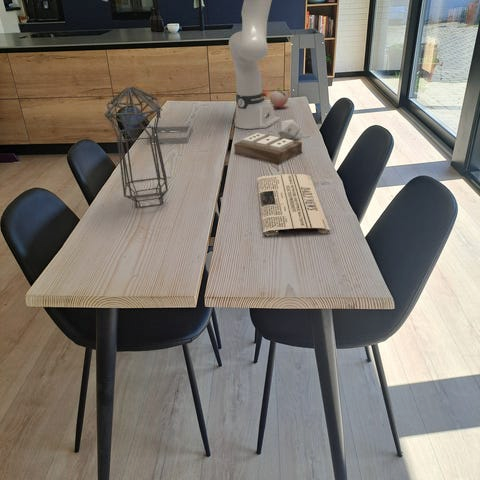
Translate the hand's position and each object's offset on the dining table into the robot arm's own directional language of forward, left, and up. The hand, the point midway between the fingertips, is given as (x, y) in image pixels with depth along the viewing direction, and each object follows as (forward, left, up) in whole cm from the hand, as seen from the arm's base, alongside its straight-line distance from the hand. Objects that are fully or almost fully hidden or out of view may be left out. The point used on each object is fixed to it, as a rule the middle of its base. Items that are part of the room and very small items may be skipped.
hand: (103, 0), depth 166 cm
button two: (-23, +63, -52) cm, 85 cm away
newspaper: (+9, +90, -55) cm, 106 cm away
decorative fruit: (-79, +21, -55) cm, 98 cm away
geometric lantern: (+32, +52, -55) cm, 82 cm away
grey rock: (-41, +54, -55) cm, 87 cm away
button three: (-23, +50, -52) cm, 76 cm away
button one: (-23, +57, -52) cm, 80 cm away
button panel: (-23, +57, -54) cm, 82 cm away
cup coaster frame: (-16, +9, -54) cm, 57 cm away
